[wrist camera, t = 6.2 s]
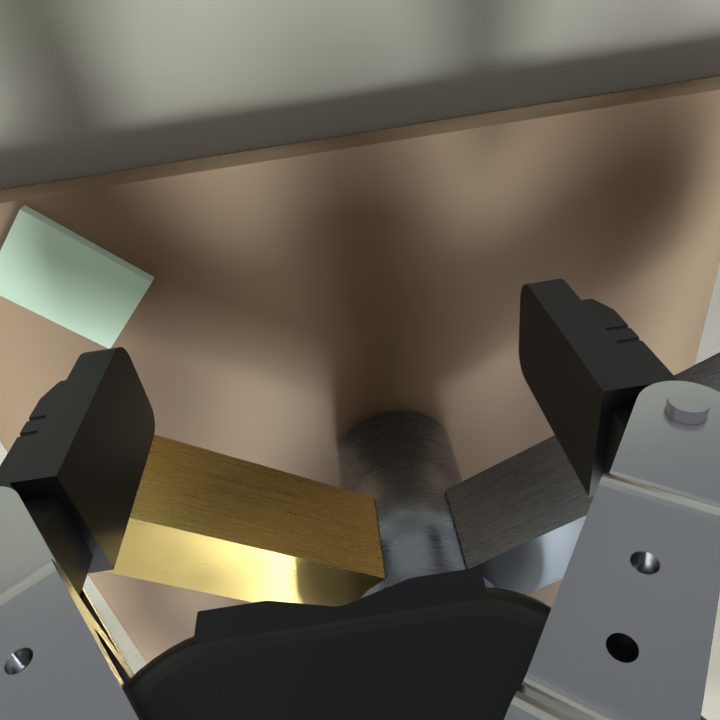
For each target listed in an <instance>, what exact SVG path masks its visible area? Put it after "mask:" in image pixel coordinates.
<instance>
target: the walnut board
mask: <svg viewBox="0 0 720 720" xmlns="http://www.w3.org/2000/svg"><path fill="white" fill-rule="evenodd" d="M24 205H26V206H28V207H30V208H31V209H33V210H35V211H37V212H39V213H40V214H42V215H44V216H46V217H48V218H49V219H51V220H53V221H55V222H56V223H58V224H60V225H62V226H64V227H65V228H67V229H69V230H71V231H73V232H74V233H76V234H78V235H80V236H82V237H83V238H85V239H87V240H89V241H90V242H92V243H94V244H96V245H98V246H99V247H101V248H103V249H105V250H107V251H108V252H110V253H112V254H114V255H116V256H117V257H119V258H121V259H123V260H124V261H126V262H128V263H130V264H132V265H133V266H135V267H137V268H139V269H141V270H142V271H144V272H146V273H148V274H150V275H151V276H153V277H154V279H153V281H152V283H151V285H150V286H149V288H148V290H147V291H146V293H145V294H144V296H143V297H142V299H141V301H140V302H139V304H138V305H137V307H136V309H135V310H134V312H133V313H132V315H131V317H130V318H129V320H128V321H127V323H126V325H125V326H124V328H123V329H122V331H121V333H120V334H119V336H118V337H117V339H116V341H115V342H114V344H113V345H112V347H111V348H116V347H122V348H124V349H125V350H126V351H127V352H128V354H129V356H130V358H131V360H132V362H133V365H134V367H135V369H136V372H137V374H138V376H139V379H140V381H141V383H142V386H143V388H144V390H145V392H146V395H147V397H148V399H149V402H150V404H151V406H152V410H153V413H154V419H155V435H158V436H162V437H165V438H169V439H172V440H176V441H179V442H182V443H186V444H189V445H193V446H196V447H200V448H203V449H207V450H210V451H214V452H217V453H221V454H224V455H228V456H231V457H235V458H238V459H242V460H245V461H249V462H252V463H256V464H259V465H263V466H266V467H270V468H273V469H277V470H280V471H284V472H287V473H291V474H294V475H297V476H301V477H304V478H308V479H311V480H315V481H318V482H322V483H325V484H329V485H332V486H336V487H339V488H340V475H339V463H338V453H339V448H340V445H341V443H342V441H343V439H344V437H345V436H346V435H347V433H348V432H349V431H350V430H351V429H352V428H353V427H355V426H356V425H357V424H358V423H360V422H362V421H363V420H365V419H367V418H369V417H371V416H374V415H377V414H380V413H384V412H389V411H412V412H417V413H421V414H424V415H426V416H429V417H431V418H432V419H434V420H436V421H437V422H438V423H439V424H440V425H441V426H442V427H443V428H444V429H445V431H446V432H447V434H448V437H449V439H450V442H451V445H452V449H453V452H454V455H455V458H456V461H457V464H458V468H459V471H460V474H461V477H462V480H463V481H464V480H466V479H468V478H470V477H472V476H474V475H476V474H478V473H480V472H482V471H484V470H486V469H488V468H490V467H492V466H494V465H496V464H498V463H500V462H502V461H504V460H506V459H508V458H510V457H512V456H514V455H516V454H518V453H520V452H522V451H524V450H526V449H528V448H530V447H532V446H534V445H536V444H538V443H540V442H542V441H544V440H546V439H548V438H550V437H552V436H554V435H555V434H554V432H553V430H552V428H551V426H550V425H549V423H548V421H547V419H546V417H545V415H544V414H543V412H542V410H541V408H540V406H539V404H538V403H537V401H536V399H535V397H534V395H533V393H532V391H531V390H530V388H529V386H528V384H527V382H526V380H525V378H524V376H523V373H522V370H521V366H520V360H519V321H520V295H521V289H522V286H523V285H524V284H529V283H535V282H541V281H548V280H554V279H564V280H565V281H566V283H567V284H568V285H569V286H570V287H571V288H572V290H573V291H574V292H575V293H576V294H577V296H578V297H579V298H580V299H581V300H585V299H594V300H596V301H598V302H600V303H602V304H604V305H606V306H608V307H610V308H612V309H614V310H615V311H616V312H617V313H618V314H619V315H620V317H621V318H622V319H623V320H624V321H625V322H626V323H627V324H628V328H631V329H632V330H633V331H634V332H635V333H636V334H637V335H638V336H639V340H640V341H643V342H644V343H645V344H646V345H647V346H648V347H649V349H650V350H651V351H652V352H653V353H654V354H655V355H656V356H657V357H658V358H659V360H660V361H661V362H662V363H663V364H664V365H665V366H666V367H667V368H668V369H669V371H670V372H671V373H672V374H673V375H676V374H678V373H680V372H682V371H684V370H686V369H688V368H690V367H692V366H694V363H695V359H696V355H697V351H698V347H699V343H700V339H701V335H702V331H703V327H704V323H705V319H706V315H707V311H708V307H709V303H710V299H711V295H712V291H713V287H714V282H715V278H716V274H717V270H718V266H719V262H720V76H716V77H710V78H704V79H697V80H691V81H685V82H679V83H672V84H666V85H660V86H653V87H647V88H641V89H634V90H628V91H622V92H615V93H609V94H603V95H596V96H590V97H584V98H577V99H571V100H565V101H558V102H552V103H546V104H540V105H533V106H527V107H521V108H514V109H508V110H502V111H495V112H489V113H483V114H476V115H470V116H464V117H457V118H451V119H445V120H438V121H432V122H426V123H419V124H413V125H407V126H401V127H394V128H388V129H382V130H375V131H369V132H363V133H356V134H350V135H344V136H337V137H331V138H325V139H318V140H312V141H306V142H299V143H293V144H287V145H280V146H274V147H268V148H262V149H255V150H249V151H243V152H236V153H230V154H224V155H217V156H211V157H205V158H198V159H192V160H186V161H179V162H173V163H167V164H160V165H154V166H148V167H141V168H135V169H129V170H123V171H116V172H110V173H104V174H97V175H91V176H85V177H78V178H72V179H66V180H59V181H53V182H47V183H40V184H34V185H28V186H21V187H15V188H9V189H2V190H0V250H1V248H2V246H3V244H4V242H5V240H6V238H7V236H8V233H9V231H10V229H11V227H12V225H13V223H14V221H15V219H16V216H17V214H18V212H19V210H20V209H21V208H22V207H23V206H24ZM103 349H108V348H106V347H104V346H102V345H100V344H98V343H96V342H94V341H92V340H90V339H88V338H86V337H84V336H82V335H80V334H78V333H76V332H74V331H71V330H69V329H67V328H65V327H63V326H61V325H59V324H57V323H55V322H53V321H51V320H49V319H47V318H45V317H43V316H41V315H39V314H37V313H35V312H33V311H31V310H29V309H26V308H24V307H22V306H20V305H18V304H16V303H14V302H12V301H10V300H8V299H6V298H4V297H2V296H0V442H1V443H2V445H3V446H4V448H5V449H6V451H7V452H9V450H10V449H11V447H12V445H13V444H14V442H15V440H16V439H17V437H20V432H21V430H22V428H23V427H24V425H25V423H26V422H27V421H29V417H30V415H31V413H32V411H33V410H34V408H35V406H36V405H37V403H38V401H39V400H40V398H42V397H43V396H44V395H45V394H46V393H47V392H48V391H49V390H50V389H52V388H53V387H54V386H55V385H56V384H57V383H58V382H59V381H64V380H66V379H67V378H68V376H69V374H70V372H71V370H72V369H73V367H74V365H75V363H76V361H77V359H78V358H79V356H80V355H81V354H82V353H84V352H90V351H97V350H103ZM88 575H89V577H90V578H91V580H92V581H93V583H94V584H95V586H96V587H97V589H98V590H99V592H100V593H101V595H102V596H103V598H104V599H105V601H106V602H107V604H108V605H109V607H110V608H111V610H112V611H113V613H114V614H115V616H116V617H117V619H118V621H119V622H120V624H121V625H122V627H123V628H124V630H125V631H126V633H127V634H128V636H129V637H130V639H131V640H132V642H133V643H134V645H135V646H136V648H137V649H138V651H139V652H140V654H141V655H142V657H143V658H144V660H145V661H146V663H147V664H148V663H149V662H150V661H151V660H153V659H154V658H155V657H157V656H158V655H160V654H161V653H163V652H164V651H166V650H167V649H169V648H170V647H172V646H174V645H176V644H178V643H180V642H182V641H183V640H185V639H187V638H190V637H192V636H194V632H195V626H196V619H197V612H198V611H203V610H209V609H216V608H222V607H229V606H235V605H241V604H248V603H254V602H249V601H244V600H239V599H234V598H229V597H225V596H220V595H215V594H210V593H205V592H200V591H195V590H191V589H186V588H181V587H176V586H171V585H166V584H161V583H157V582H152V581H147V580H142V579H137V578H132V577H127V576H123V575H118V574H113V573H108V572H103V571H101V572H95V573H88ZM561 582H562V579H560V580H558V581H556V582H553V583H551V584H549V585H546V586H544V587H542V588H540V589H537V590H535V591H533V592H530V593H528V594H526V595H528V596H531V597H533V598H535V599H537V600H539V601H541V602H543V603H545V604H546V605H548V606H549V607H551V608H552V606H553V603H554V600H555V598H556V595H557V592H558V590H559V587H560V584H561Z"/></svg>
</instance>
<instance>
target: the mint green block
mask: <svg viewBox="0 0 720 720" xmlns="http://www.w3.org/2000/svg"><path fill="white" fill-rule="evenodd" d="M153 279H154V277H153V276H151V275H150V274H148V273H146V272H144V271H142V270H141V269H139V268H137V267H135V266H133V265H132V264H130V263H128V262H126V261H124V260H123V259H121V258H119V257H117V256H116V255H114V254H112V253H110V252H108V251H107V250H105V249H103V248H101V247H99V246H98V245H96V244H94V243H92V242H90V241H89V240H87V239H85V238H83V237H82V236H80V235H78V234H76V233H74V232H73V231H71V230H69V229H67V228H65V227H64V226H62V225H60V224H58V223H56V222H55V221H53V220H51V219H49V218H48V217H46V216H44V215H42V214H40V213H39V212H37V211H35V210H33V209H31V208H30V207H28V206H26V205H24V206H23V207H22V208H21V209H20V210H19V212H18V214H17V216H16V219H15V221H14V223H13V225H12V227H11V229H10V231H9V233H8V236H7V238H6V240H5V242H4V244H3V246H2V248H1V250H0V296H2V297H4V298H6V299H8V300H10V301H12V302H14V303H16V304H18V305H20V306H22V307H24V308H26V309H29V310H31V311H33V312H35V313H37V314H39V315H41V316H43V317H45V318H47V319H49V320H51V321H53V322H55V323H57V324H59V325H61V326H63V327H65V328H67V329H69V330H71V331H74V332H76V333H78V334H80V335H82V336H84V337H86V338H88V339H90V340H92V341H94V342H96V343H98V344H100V345H102V346H104V347H106V348H108V349H109V348H111V347H112V345H113V344H114V342H115V341H116V339H117V337H118V336H119V334H120V333H121V331H122V329H123V328H124V326H125V325H126V323H127V321H128V320H129V318H130V317H131V315H132V313H133V312H134V310H135V309H136V307H137V305H138V304H139V302H140V301H141V299H142V297H143V296H144V294H145V293H146V291H147V290H148V288H149V286H150V285H151V283H152V281H153Z"/></svg>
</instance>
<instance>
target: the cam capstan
mask: <svg viewBox="0 0 720 720" xmlns="http://www.w3.org/2000/svg"><path fill="white" fill-rule="evenodd" d="M674 376H675V377H676V378H677V379H678V380H679V381H687V382H693V383H697V384H701V385H704V386H707V387H710V388H712V389H714V390H716V391H718V392H720V353H718V354H716V355H714V356H712V357H710V358H708V359H706V360H704V361H702V362H700V363H698V364H696V365H694V366H692V367H690V368H688V369H686V370H684V371H682V372H680V373H678V374H676V375H674ZM338 463H339V475H340V488H339V487H336V486H332V485H329V484H325V483H322V482H318V481H315V480H311V479H308V478H304V477H301V476H297V475H294V474H291V473H287V472H284V471H280V470H277V469H273V468H270V467H266V466H263V465H259V464H256V463H252V462H249V461H245V460H242V459H238V458H235V457H231V456H228V455H224V454H221V453H217V452H214V451H210V450H207V449H203V448H200V447H196V446H193V445H189V444H186V443H182V442H179V441H176V440H172V439H169V438H165V437H162V436H158V435H155V434H154V438H153V441H152V445H151V448H150V451H149V455H148V458H147V461H146V465H145V468H144V471H143V475H142V478H141V481H140V485H139V488H138V491H137V494H136V498H135V501H134V504H133V508H132V511H131V514H130V518H129V521H128V524H127V528H126V531H125V534H124V537H123V541H122V544H121V547H120V551H119V554H118V557H117V561H116V564H115V567H114V570H107V571H103V572H108V573H113V574H118V575H123V576H127V577H132V578H137V579H142V580H147V581H152V582H157V583H161V584H166V585H171V586H176V587H181V588H186V589H191V590H195V591H200V592H205V593H210V594H215V595H220V596H225V597H229V598H234V599H239V600H244V601H249V602H260V601H279V602H290V603H301V604H312V605H323V606H342V605H345V604H348V603H351V602H353V601H356V600H358V599H361V598H363V597H365V596H368V595H370V594H373V593H375V592H378V591H380V590H382V589H385V588H387V587H390V586H392V585H395V584H397V583H399V582H402V581H404V580H407V579H409V578H413V577H420V576H426V575H432V574H439V573H445V572H452V571H458V570H464V569H471V568H477V567H480V569H481V573H482V576H483V579H484V583H485V586H486V589H492V590H500V591H505V592H510V593H515V594H518V595H521V596H524V597H527V598H531V599H533V600H536V601H538V602H540V603H542V604H545V603H543V602H541V601H539V600H537V599H535V598H533V597H531V596H528V595H526V594H528V593H530V592H533V591H535V590H537V589H540V588H542V587H544V586H546V585H549V584H551V583H553V582H556V581H558V580H560V579H563V577H564V574H565V571H566V569H567V566H568V563H569V561H570V558H571V555H572V553H573V550H574V548H575V545H576V542H577V540H578V537H579V534H580V532H581V529H582V526H583V524H584V521H585V519H586V516H587V513H588V511H589V508H590V505H591V503H592V500H593V497H594V496H590V497H588V495H587V493H586V491H585V489H584V487H583V485H582V484H581V482H580V480H579V478H578V476H577V474H576V473H575V471H574V469H573V467H572V465H571V463H570V462H569V460H568V458H567V456H566V454H565V452H564V450H563V449H562V447H561V445H560V443H559V441H558V439H557V438H556V436H555V435H554V436H552V437H550V438H548V439H546V440H544V441H542V442H540V443H538V444H536V445H534V446H532V447H530V448H528V449H526V450H524V451H522V452H520V453H518V454H516V455H514V456H512V457H510V458H508V459H506V460H504V461H502V462H500V463H498V464H496V465H494V466H492V467H490V468H488V469H486V470H484V471H482V472H480V473H478V474H476V475H474V476H472V477H470V478H468V479H466V480H464V481H463V480H462V477H461V474H460V471H459V468H458V464H457V461H456V458H455V455H454V452H453V449H452V445H451V442H450V439H449V437H448V434H447V432H446V431H445V429H444V428H443V427H442V426H441V425H440V424H439V423H438V422H437V421H436V420H434V419H432V418H431V417H429V416H426V415H424V414H421V413H417V412H412V411H389V412H384V413H380V414H377V415H374V416H371V417H369V418H367V419H365V420H363V421H362V422H360V423H358V424H357V425H356V426H355V427H353V428H352V429H351V430H350V431H349V432H348V433H347V435H346V436H345V437H344V439H343V441H342V443H341V445H340V448H339V453H338ZM545 605H546V604H545ZM547 606H548V605H547Z"/></svg>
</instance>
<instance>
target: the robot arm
mask: <svg viewBox="0 0 720 720" xmlns="http://www.w3.org/2000/svg"><path fill="white" fill-rule="evenodd" d="M519 360H520V366H521V370H522V373H523V376H524V378H525V380H526V382H527V384H528V386H529V388H530V390H531V391H532V393H533V395H534V397H535V399H536V401H537V403H538V404H539V406H540V408H541V410H542V412H543V414H544V415H545V417H546V419H547V421H548V423H549V425H550V426H551V428H552V430H553V432H554V434H555V436H556V438H557V439H558V441H559V443H560V445H561V447H562V449H563V450H564V452H565V454H566V456H567V458H568V460H569V462H570V463H571V465H572V467H573V469H574V471H575V473H576V474H577V476H578V478H579V480H580V482H581V484H582V485H583V487H584V489H585V491H586V493H587V495H588V497H590V496H594V497H593V500H592V503H591V505H590V508H589V511H588V513H587V516H586V519H585V521H584V524H583V526H582V529H581V532H580V534H579V537H578V540H577V542H576V545H575V548H574V550H573V553H572V555H571V558H570V561H569V563H568V566H567V569H566V571H565V574H564V577H563V579H562V582H561V584H560V587H559V590H558V592H557V595H556V598H555V600H554V603H553V606H552V608H551V607H549V606H547V605H545V604H542V603H540V602H538V601H536V600H533V599H531V598H527V597H524V596H521V595H518V594H515V593H510V592H505V591H500V590H492V589H486V586H485V583H484V579H483V576H482V573H481V569H480V567H477V568H471V569H464V570H458V571H452V572H445V573H439V574H432V575H426V576H420V577H413V578H409V579H407V580H404V581H402V582H399V583H397V584H395V585H392V586H390V587H387V588H385V589H382V590H380V591H378V592H375V593H373V594H370V595H368V596H365V597H363V598H361V599H358V600H356V601H353V602H351V603H348V604H345V605H342V606H323V605H312V604H301V603H290V602H279V601H260V602H254V603H248V604H241V605H235V606H229V607H222V608H216V609H209V610H203V611H198V612H197V619H196V626H195V632H194V636H192V637H190V638H187V639H185V640H183V641H182V642H180V643H178V644H176V645H174V646H172V647H170V648H169V649H167V650H166V651H164V652H163V653H161V654H160V655H158V656H157V657H155V658H154V659H153V660H151V661H150V662H149V663H148V664H146V665H145V666H144V667H143V668H141V669H140V670H139V671H138V672H137V673H136V674H135V675H134V674H133V672H132V671H131V669H130V667H129V666H128V664H127V662H126V661H125V659H124V657H123V656H122V654H121V652H120V650H119V649H118V647H117V645H116V644H115V642H114V640H113V638H112V637H111V635H110V633H109V631H108V630H107V628H106V626H105V625H104V623H103V621H102V619H101V618H100V616H99V614H98V613H97V611H96V609H95V607H94V606H93V604H92V602H91V601H90V599H89V597H88V596H87V594H86V593H85V591H84V590H83V585H84V582H85V579H86V576H87V574H88V573H95V572H101V571H107V570H114V567H115V564H116V561H117V557H118V554H119V551H120V547H121V544H122V541H123V537H124V534H125V531H126V528H127V524H128V521H129V518H130V514H131V511H132V508H133V504H134V501H135V498H136V494H137V491H138V488H139V485H140V481H141V478H142V475H143V471H144V468H145V465H146V461H147V458H148V455H149V451H150V448H151V445H152V441H153V438H154V434H155V419H154V413H153V410H152V406H151V404H150V402H149V399H148V397H147V395H146V392H145V390H144V388H143V386H142V383H141V381H140V379H139V376H138V374H137V372H136V369H135V367H134V365H133V362H132V360H131V358H130V356H129V354H128V352H127V351H126V350H125V349H124V348H122V347H116V348H109V349H103V350H97V351H90V352H84V353H82V354H81V355H80V356H79V358H78V359H77V361H76V363H75V365H74V367H73V369H72V370H71V372H70V374H69V376H68V378H67V379H66V380H64V381H59V382H58V383H57V384H56V385H55V386H54V387H53V388H52V389H50V390H49V391H48V392H47V393H46V394H45V395H44V396H43V397H42V398H40V400H39V401H38V403H37V405H36V406H35V408H34V410H33V411H32V413H31V415H30V417H29V421H27V422H26V423H25V425H24V427H23V428H22V430H21V432H20V437H17V439H16V440H15V442H14V444H13V445H12V447H11V449H10V450H9V452H8V454H7V456H6V457H5V459H4V461H3V462H2V464H1V466H0V720H707V719H705V718H704V717H702V716H701V711H702V705H703V698H704V692H705V685H706V678H707V672H708V665H709V659H710V652H711V646H712V639H713V633H714V626H715V620H716V613H717V606H718V600H719V593H720V392H718V391H716V390H714V389H712V388H710V387H707V386H704V385H701V384H697V383H693V382H687V381H679V380H678V379H677V378H676V377H675V376H674V375H673V374H672V373H671V372H670V371H669V369H668V368H667V367H666V366H665V365H664V364H663V363H662V362H661V361H660V360H659V358H658V357H657V356H656V355H655V354H654V353H653V352H652V351H651V350H650V349H649V347H648V346H647V345H646V344H645V343H644V342H643V341H640V340H639V336H638V335H637V334H636V333H635V332H634V331H633V330H632V329H631V328H628V324H627V323H626V322H625V321H624V320H623V319H622V318H621V317H620V315H619V314H618V313H617V312H616V311H615V310H614V309H612V308H610V307H608V306H606V305H604V304H602V303H600V302H598V301H596V300H594V299H585V300H581V299H580V298H579V297H578V296H577V294H576V293H575V292H574V291H573V290H572V288H571V287H570V286H569V285H568V284H567V283H566V281H565V280H564V279H554V280H548V281H541V282H535V283H529V284H524V285H523V286H522V289H521V295H520V321H519Z"/></svg>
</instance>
